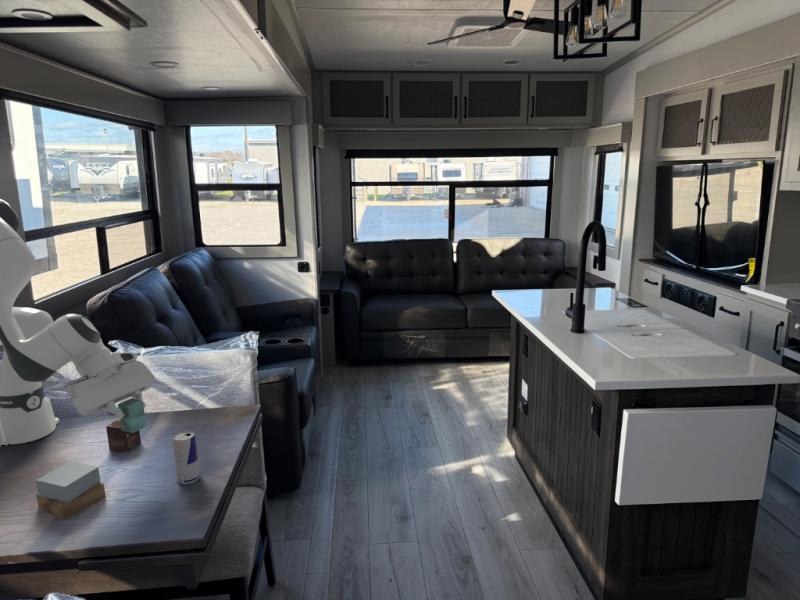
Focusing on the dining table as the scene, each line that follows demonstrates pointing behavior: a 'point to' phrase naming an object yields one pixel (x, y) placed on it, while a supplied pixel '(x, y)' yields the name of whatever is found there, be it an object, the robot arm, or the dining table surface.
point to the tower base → (72, 502)
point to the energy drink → (186, 457)
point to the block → (133, 415)
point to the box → (121, 438)
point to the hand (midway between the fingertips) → (133, 412)
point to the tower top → (68, 481)
